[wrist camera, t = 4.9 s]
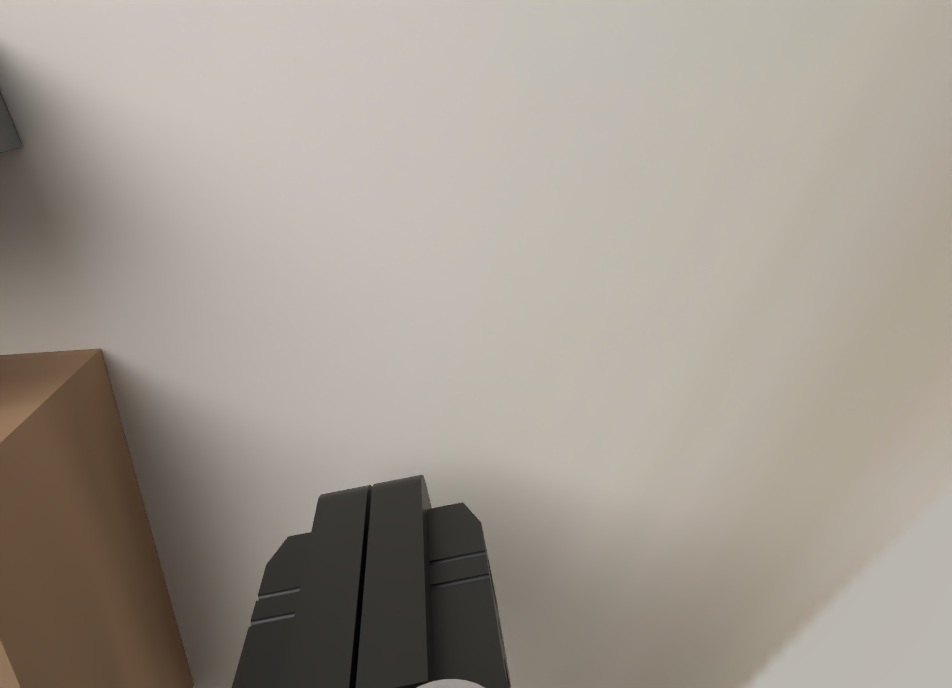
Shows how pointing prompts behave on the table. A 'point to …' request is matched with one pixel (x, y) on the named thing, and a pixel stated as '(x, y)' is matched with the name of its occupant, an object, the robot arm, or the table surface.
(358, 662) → the robot arm
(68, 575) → the walnut block
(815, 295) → the table surface
